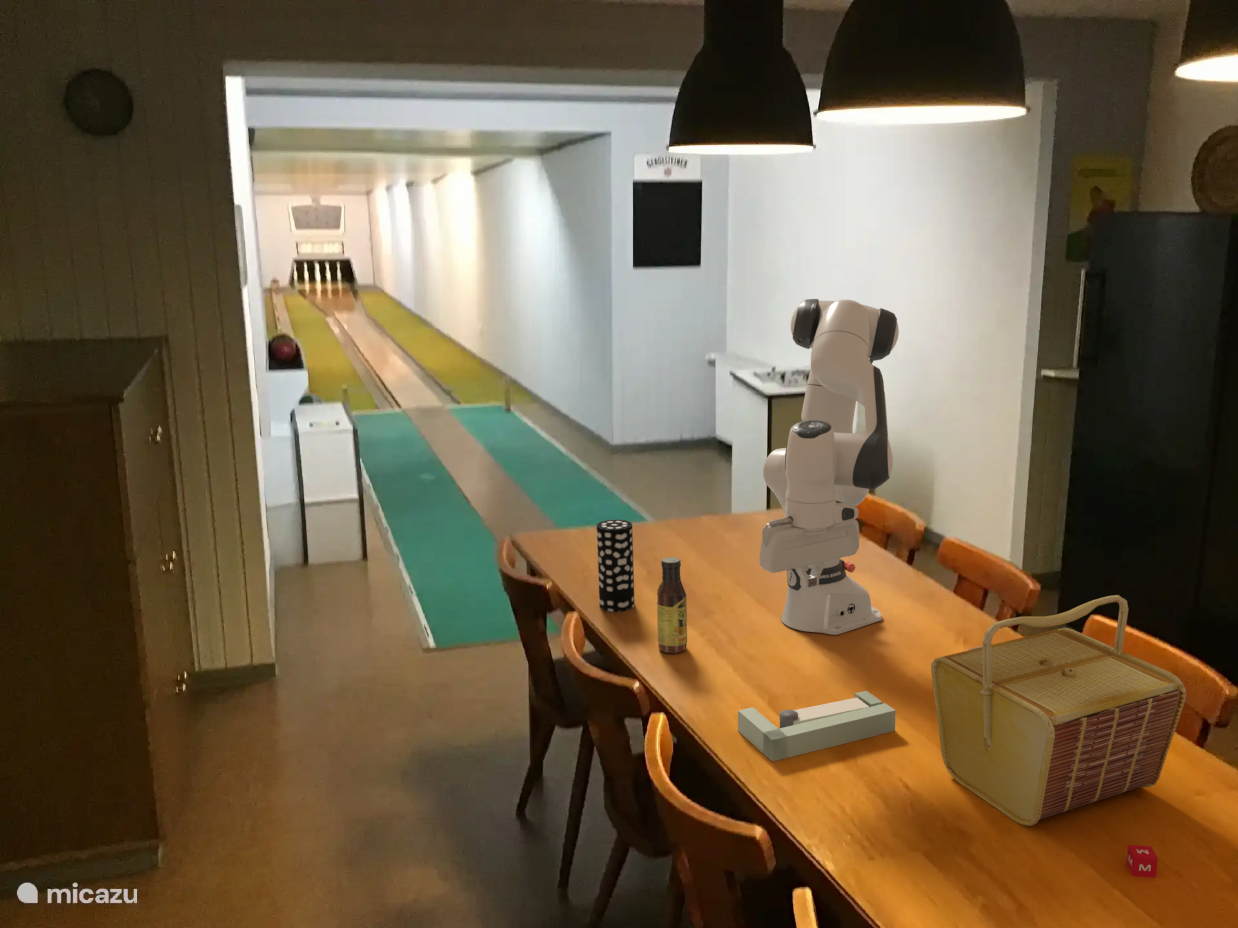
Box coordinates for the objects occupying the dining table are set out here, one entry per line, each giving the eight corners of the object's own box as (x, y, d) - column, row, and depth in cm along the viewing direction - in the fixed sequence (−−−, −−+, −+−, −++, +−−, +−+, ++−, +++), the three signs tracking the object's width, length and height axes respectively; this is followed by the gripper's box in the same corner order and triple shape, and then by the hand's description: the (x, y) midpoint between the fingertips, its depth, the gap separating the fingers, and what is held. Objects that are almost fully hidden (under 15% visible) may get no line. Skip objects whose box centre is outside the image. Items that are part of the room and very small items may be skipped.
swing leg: (786, 743, 186) (786, 720, 185) (775, 733, 190) (775, 710, 189) (868, 725, 191) (869, 703, 190) (856, 716, 195) (857, 694, 194)
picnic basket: (1037, 849, 154) (1050, 656, 147) (920, 767, 177) (927, 597, 170) (1181, 800, 165) (1200, 619, 158) (1054, 729, 188) (1065, 568, 181)
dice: (1132, 876, 147) (1134, 857, 146) (1126, 863, 150) (1128, 844, 149) (1156, 877, 147) (1157, 858, 146) (1149, 864, 149) (1150, 845, 149)
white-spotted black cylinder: (594, 609, 251) (590, 528, 246) (607, 597, 258) (604, 518, 254) (626, 613, 248) (624, 531, 243) (639, 601, 255) (637, 521, 251)
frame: (855, 703, 200) (856, 683, 199) (894, 730, 189) (895, 710, 188) (738, 730, 191) (738, 710, 190) (772, 761, 180) (772, 739, 179)
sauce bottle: (685, 655, 223) (683, 565, 219) (655, 654, 225) (653, 564, 220) (689, 643, 230) (687, 555, 225) (660, 641, 231) (658, 554, 226)
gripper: (774, 526, 182) (773, 602, 186) (865, 507, 192) (863, 580, 195) (752, 517, 188) (752, 591, 191) (842, 500, 197) (841, 570, 200)
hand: (809, 585), depth 193 cm, fingers closed
